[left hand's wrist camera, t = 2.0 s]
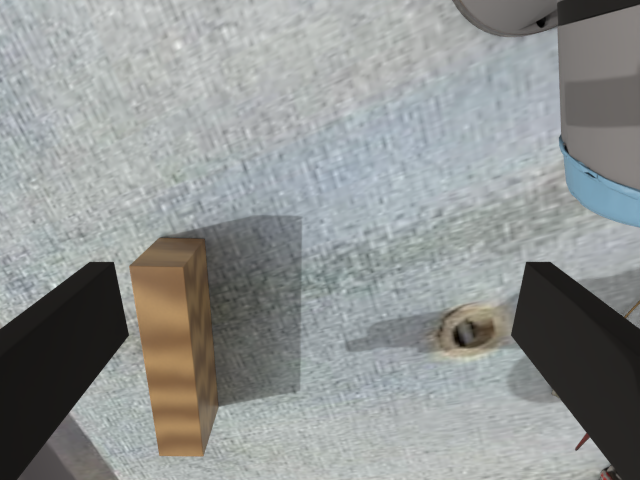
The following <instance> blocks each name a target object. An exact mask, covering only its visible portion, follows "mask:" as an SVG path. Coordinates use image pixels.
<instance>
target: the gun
mask: <svg viewBox="0 0 640 480" xmlns="http://www.w3.org/2000/svg"><path fill="white" fill-rule="evenodd" d="M600 477H601V478H600V480H623V479H622V478H621V476H620V475H619V474H618V472H617V471H616V470H615V469H614V467H613V466H610V467H609V468H608V470H607V471H602V472H601V473H600Z"/></svg>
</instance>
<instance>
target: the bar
mask: <svg viewBox="0 0 640 480" xmlns="http://www.w3.org/2000/svg"><path fill="white" fill-rule="evenodd" d="M129 268H130V274H131V281H132V287H133V293H134V299H135V306H136V312H137V318H138V324H139V331H140V337H141V343H142V349H143V356H144V362H145V368H146V375H147V381H148V387H149V393H150V400H151V406H152V412H153V418H154V425H155V431H156V437H157V443H158V450H159V456H204V453H205V449H206V446H207V443H208V440H209V436H210V433H211V430H212V427H213V423H214V420H215V417H216V414H217V410H218V395H217V383H216V371H215V358H214V346H213V334H212V322H211V310H210V298H209V286H208V274H207V262H206V249H205V239H194V238H159V239H157V240H156V241H155V242H154V243H153V244H152V245H151V246H150V247H149V248H148V249H147V250H146V251H145V252H144V253H143V254H142V255H140V256H139V257H138V258H137V259H136V260H135V261H134V262H133V263H132V264H131V265H130V266H129Z"/></svg>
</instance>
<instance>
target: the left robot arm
mask: <svg viewBox="0 0 640 480" xmlns="http://www.w3.org/2000/svg"><path fill="white" fill-rule="evenodd" d="M453 2H454V4H455V5H456V7H457V8H458V10H459V11H460V12H461V14H462V15H463V16H464V17H465V18H466V19H467V20H468V21H469V22H470V23H472V24H473V25H474V26H476V27H477V28H479V29H481V30H483V31H485V32H487V33H490V34H493V35H497V36H502V37H522V36H527V35H531V34H535V33H539V32H542V31H546V30H548V29H551V28H553V27H555V26H557V25H558V53H559V82H560V110H561V135H560V137H559V146H560V149H561V152H562V153H563V155H564V164H565V175H566V183H567V186H568V189H569V191H570V192H571V194H572V195H573V196H574V197H575V198H576V199H578V200H579V201H580V203H581V204H582V205H583V206H584V207H586V208H587V209H589V210H591V211H593V212H594V213H596V214H598V215H600V216H603V217H605V218H608V219H610V220H613V221H616V222H619V223H623V224H627V225H631V226H635V227H640V0H453ZM559 25H561V26H559ZM128 336H129V333H128V328H127V324H126V319H125V314H124V309H123V304H122V299H121V294H120V290H119V285H118V280H117V275H116V270H115V265H114V262H89V263H88V264H86V265H85V266H84V267H82V268H81V269H80V270H78V271H77V272H76V273H74V274H73V275H72V276H70V277H69V278H68V279H66V280H65V281H64V282H62V283H61V284H60V285H58V286H57V287H56V288H54V289H53V290H52V291H50V292H49V293H48V294H46V295H45V296H44V297H42V298H41V299H40V300H38V301H37V302H36V303H34V304H33V305H32V306H30V307H29V308H28V309H26V310H25V311H24V312H22V313H21V314H20V315H18V316H17V317H16V318H14V319H13V320H12V321H10V322H9V323H8V324H6V325H5V326H4V327H2V328H1V329H0V480H17V479H18V478H19V476H20V475H21V474H22V472H23V471H24V470H25V469H26V467H27V466H28V465H29V463H30V462H31V461H32V459H33V458H34V457H35V456H36V454H37V453H38V452H39V450H40V449H41V448H42V447H43V445H44V444H45V443H46V441H47V440H48V439H49V438H50V436H51V435H52V434H53V432H54V431H55V430H56V429H57V427H58V426H59V425H60V423H61V422H62V421H63V420H64V418H65V417H66V416H67V414H68V413H69V412H70V411H71V409H72V408H73V407H74V405H75V404H76V403H77V402H78V400H79V399H80V398H81V396H82V395H83V394H84V393H85V391H86V390H87V389H88V387H89V386H90V385H91V384H92V382H93V381H94V380H95V378H96V377H97V376H98V374H99V373H100V372H101V371H102V369H103V368H104V367H105V365H106V364H107V363H108V362H109V360H110V359H111V358H112V356H113V355H114V354H115V353H116V351H117V350H118V349H119V347H120V346H121V345H122V344H123V342H124V341H125V340H126V338H127V337H128ZM511 336H512V337H513V338H514V340H515V341H516V342H517V344H518V345H519V346H520V347H521V349H522V350H523V351H524V353H525V354H526V355H527V356H528V358H529V359H530V360H531V362H532V363H533V364H534V365H535V367H536V368H537V369H538V371H539V372H540V373H541V374H542V376H543V377H544V378H545V380H546V381H547V382H548V384H549V385H550V386H551V387H552V389H553V390H554V391H555V393H556V394H557V395H558V396H559V398H560V399H561V400H562V402H563V403H564V404H565V405H566V407H567V408H568V409H569V411H570V412H571V413H572V414H573V416H574V417H575V418H576V420H577V421H578V422H579V423H580V425H581V426H582V427H583V429H584V430H585V431H586V432H587V434H588V435H589V436H590V438H591V439H592V440H593V441H594V443H595V444H596V445H597V447H598V448H599V449H600V450H601V452H602V453H603V454H604V456H605V457H606V458H607V460H608V461H609V462H610V463H611V465H612V466H613V467H614V469H615V470H616V471H617V472H618V474H619V475H620V476H621V478H622V479H623V480H640V329H639V328H638V327H636V326H635V325H634V324H632V323H631V322H630V321H628V320H627V319H626V318H624V317H623V316H622V315H620V314H619V313H618V312H616V311H615V310H614V309H612V308H611V307H610V306H608V305H607V304H606V303H604V302H603V301H602V300H600V299H599V298H598V297H596V296H595V295H594V294H592V293H591V292H590V291H588V290H587V289H586V288H584V287H583V286H582V285H580V284H579V283H578V282H576V281H575V280H574V279H572V278H571V277H570V276H568V275H567V274H566V273H564V272H563V271H562V270H560V269H559V268H558V267H556V266H555V265H554V264H552V263H551V262H526V265H525V270H524V275H523V280H522V285H521V289H520V294H519V299H518V304H517V309H516V314H515V319H514V324H513V328H512V333H511Z"/></svg>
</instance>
